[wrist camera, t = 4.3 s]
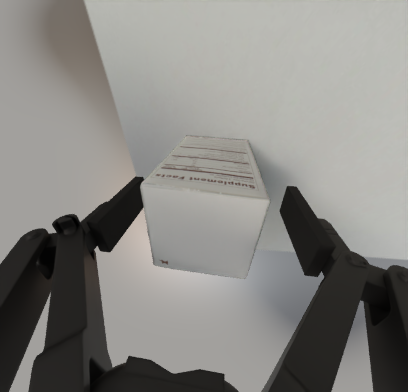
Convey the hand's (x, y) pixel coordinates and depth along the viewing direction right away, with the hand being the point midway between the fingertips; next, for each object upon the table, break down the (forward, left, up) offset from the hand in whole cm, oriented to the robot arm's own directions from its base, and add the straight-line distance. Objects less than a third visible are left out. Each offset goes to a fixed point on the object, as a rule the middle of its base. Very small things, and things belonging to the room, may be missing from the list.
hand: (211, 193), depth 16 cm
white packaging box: (0, 0, -7) cm, 7 cm away
